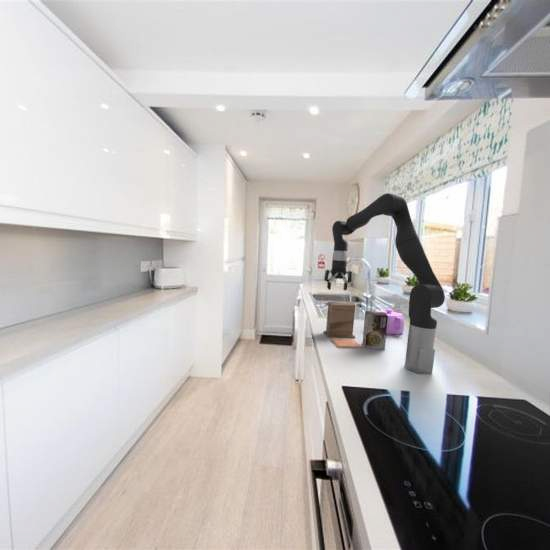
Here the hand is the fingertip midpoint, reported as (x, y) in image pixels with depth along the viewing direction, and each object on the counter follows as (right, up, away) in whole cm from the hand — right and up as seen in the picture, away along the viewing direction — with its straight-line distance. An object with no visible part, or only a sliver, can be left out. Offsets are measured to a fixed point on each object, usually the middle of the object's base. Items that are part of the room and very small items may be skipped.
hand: (337, 289), depth 160 cm
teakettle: (+29, -24, +8) cm, 38 cm away
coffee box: (+12, -26, -21) cm, 35 cm away
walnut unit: (0, -23, -7) cm, 24 cm away
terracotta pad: (0, -24, -19) cm, 31 cm away
